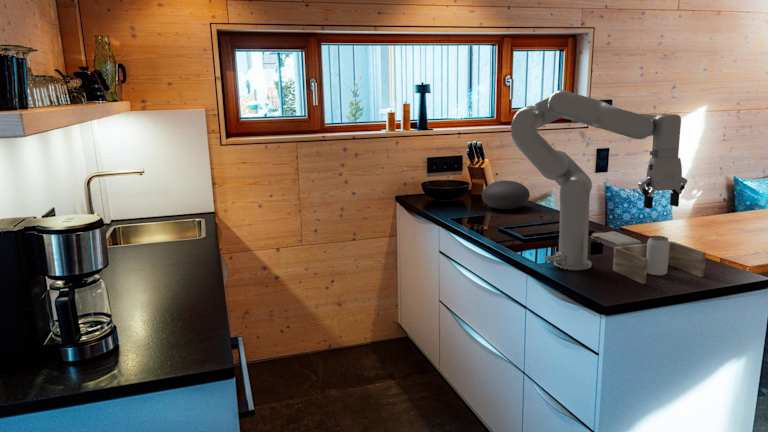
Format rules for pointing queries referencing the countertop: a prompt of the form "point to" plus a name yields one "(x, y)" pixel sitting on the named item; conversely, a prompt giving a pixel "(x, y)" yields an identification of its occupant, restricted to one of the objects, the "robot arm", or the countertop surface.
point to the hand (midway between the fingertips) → (661, 206)
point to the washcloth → (615, 239)
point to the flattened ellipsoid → (505, 195)
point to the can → (657, 255)
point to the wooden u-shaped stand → (635, 262)
